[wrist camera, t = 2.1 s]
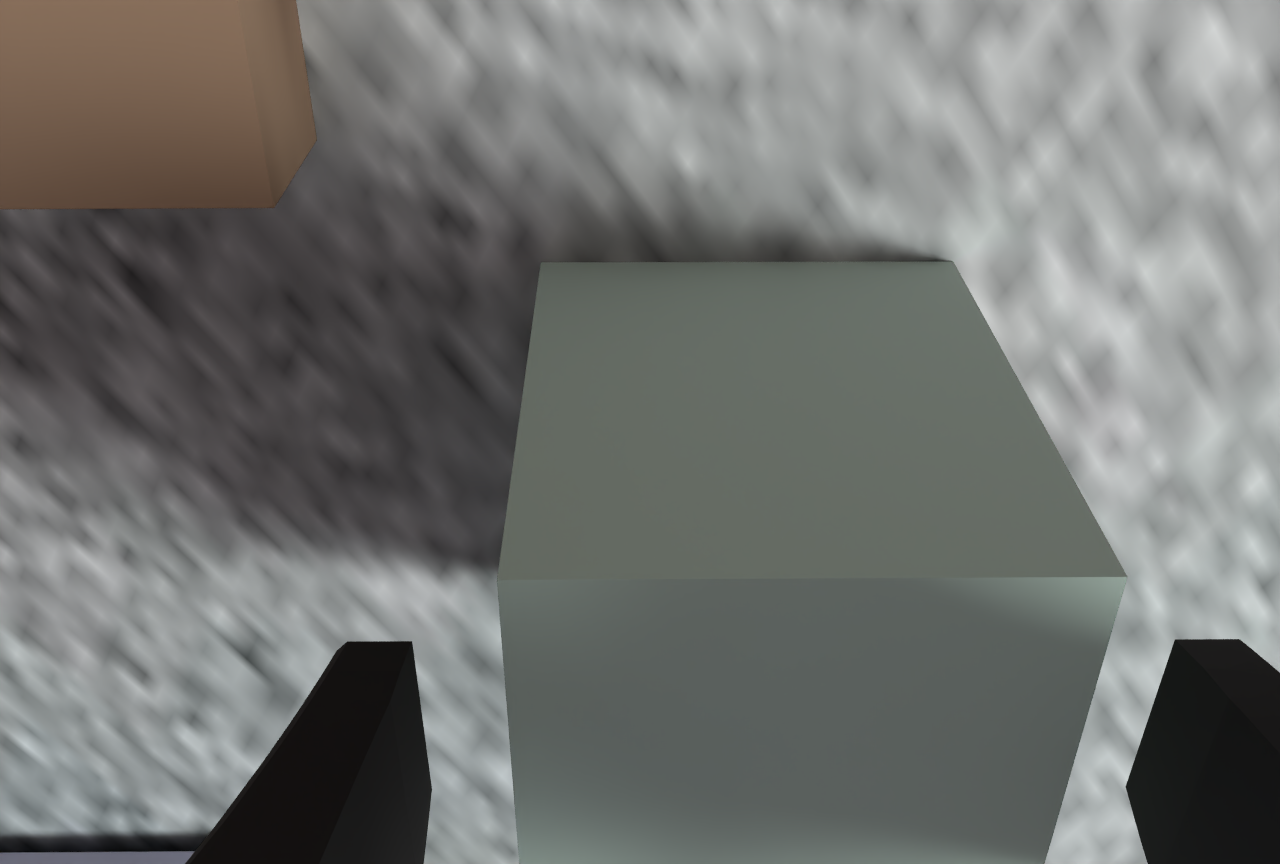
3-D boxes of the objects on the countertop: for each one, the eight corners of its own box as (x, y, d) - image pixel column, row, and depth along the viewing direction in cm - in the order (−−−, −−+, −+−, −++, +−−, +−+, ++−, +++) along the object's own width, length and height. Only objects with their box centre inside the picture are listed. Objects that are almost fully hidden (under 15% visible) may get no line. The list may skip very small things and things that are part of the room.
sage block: (901, 578, 17) (1018, 957, 12) (555, 580, 17) (526, 960, 12) (952, 260, 15) (1127, 578, 9) (540, 260, 14) (498, 578, 9)
